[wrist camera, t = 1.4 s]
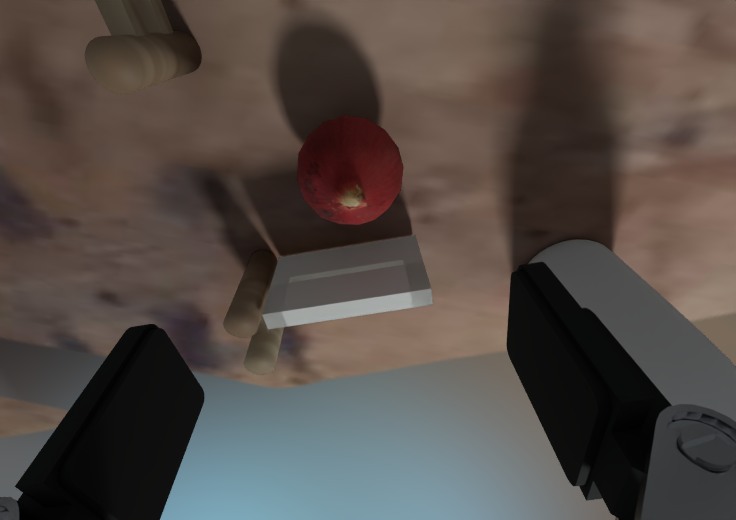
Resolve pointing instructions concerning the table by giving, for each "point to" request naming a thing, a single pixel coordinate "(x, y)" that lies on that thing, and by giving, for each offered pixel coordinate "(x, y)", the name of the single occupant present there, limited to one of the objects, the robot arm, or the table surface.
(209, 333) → the table surface
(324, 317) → the gate
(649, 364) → the milk bottle
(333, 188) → the onion
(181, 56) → the fence
